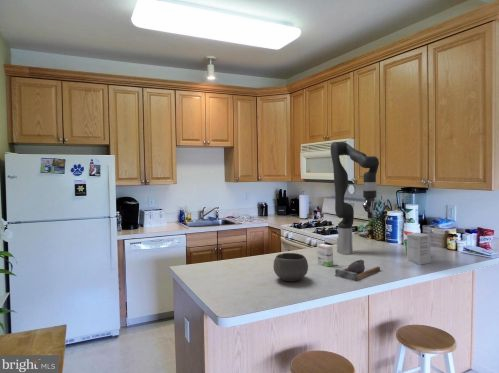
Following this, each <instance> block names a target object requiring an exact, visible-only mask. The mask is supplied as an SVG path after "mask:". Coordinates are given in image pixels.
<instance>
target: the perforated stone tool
mask: <svg viewBox="0 0 499 373" xmlns="http://www.w3.org/2000/svg"><path fill="white" fill-rule="evenodd" d="M365 267H366V266H365V261H364V260H363V259H359V260H355V261H353V262H352V263H350V264H349V265H348V266H347V267H346V268H347V271H349V272H353V273H357V275H358V274H360V273H363V272H365V269H366V268H365Z"/></svg>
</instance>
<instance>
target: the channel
mask: <svg viewBox="0 0 499 373" xmlns="http://www.w3.org/2000/svg"><path fill="white" fill-rule="evenodd" d="M347 268H348V267H346V268H343V269H342V268H341V269H340V268H335V272H334V274H335V277H338V278H341V279H342V278H343V279H347V280H350V281H354V282H356V281H358V280H361V279H363V278H366V277H369V276H370V275H373V274H376V273H377V272H379V271H381V266H375V267H373V268H371V269H367V270H366V271H365V270H364V272H362V273H360V274H358V275H357V273H353V272H349V271H347Z"/></svg>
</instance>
